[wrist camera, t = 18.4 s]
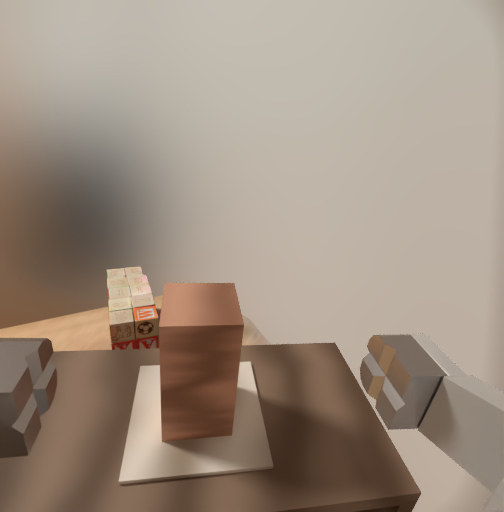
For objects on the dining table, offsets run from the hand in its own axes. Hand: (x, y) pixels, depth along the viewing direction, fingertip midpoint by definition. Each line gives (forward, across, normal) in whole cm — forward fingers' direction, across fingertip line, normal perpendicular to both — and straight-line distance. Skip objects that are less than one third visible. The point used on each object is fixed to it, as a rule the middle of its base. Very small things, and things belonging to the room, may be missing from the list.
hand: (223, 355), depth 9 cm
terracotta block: (+12, 0, +16) cm, 20 cm away
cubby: (+11, -1, +34) cm, 36 cm away
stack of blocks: (+41, +10, +35) cm, 55 cm away
